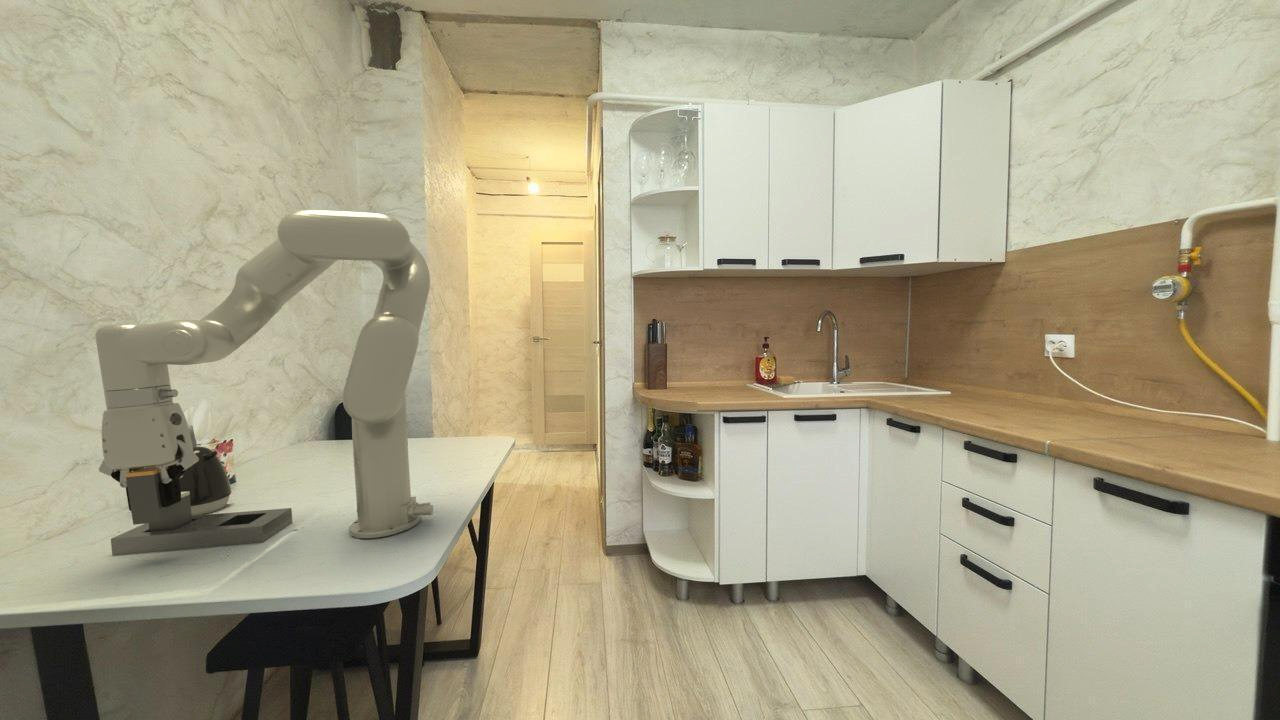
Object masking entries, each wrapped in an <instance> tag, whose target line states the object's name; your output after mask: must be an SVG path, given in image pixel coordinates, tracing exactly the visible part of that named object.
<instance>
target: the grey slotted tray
mask: <svg viewBox="0 0 1280 720" xmlns="http://www.w3.org/2000/svg"><path fill="white" fill-rule="evenodd" d="M292 511H293V510H292V507H287V508H286V507H285V508H273V509H260V510H259V509H258V510H246V511H238V512H237V511H236V512H235V511H234V512H224V513H207V514H203V515H196V516H192V522H190V523H188V524H186V525H184V526H182V527H180V528H178V529H176V530H168V531H156V532H150V531H149V523H145V524H140V525H138V526H136V527H133V528H131V529H130V530H127V531H125V532H123V533H120V534H119V535H116V536H113V537H112V538H110V545H111V555H112V556H124V555H125V556H126V555H134V554H137V555H138V554H147V553H158V552H159V553H161V552H167V551H168V552H170V551H171V552H172V551H181V550H192V549H206V548H215V547H216V548H217V547H225V546H236V545H250V544H260V543H264V542H265V543H266V541H268V540H269V539H271V538H272V537H274V536H276V535H277V534H279V533H280V532H281V531H282V530H284V529H286V528H287V527H288V526H290V525H292V524H293V513H292Z"/></svg>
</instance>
